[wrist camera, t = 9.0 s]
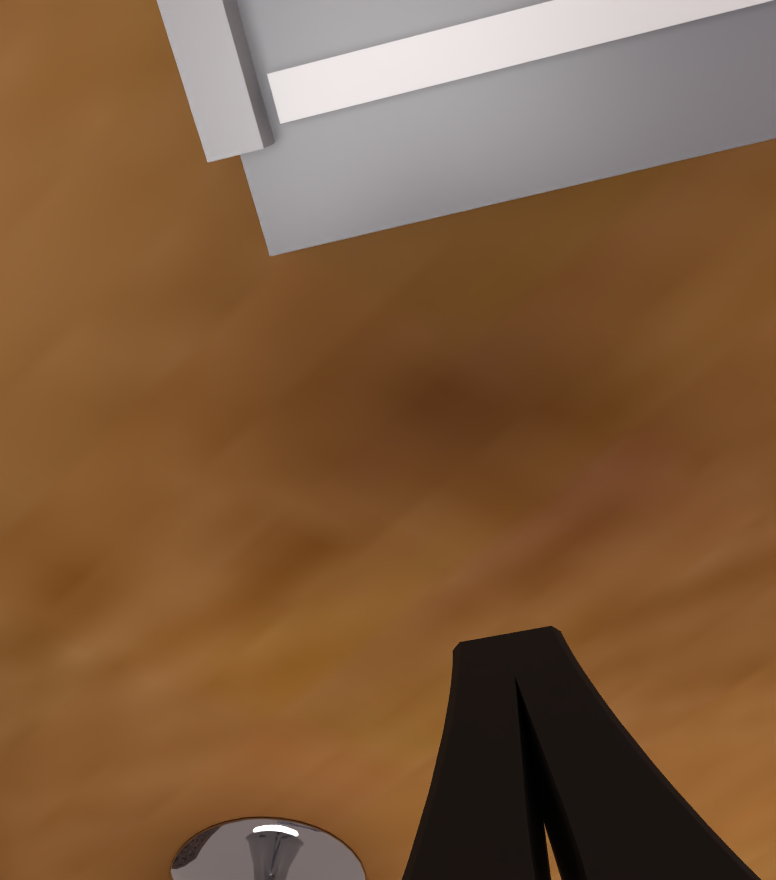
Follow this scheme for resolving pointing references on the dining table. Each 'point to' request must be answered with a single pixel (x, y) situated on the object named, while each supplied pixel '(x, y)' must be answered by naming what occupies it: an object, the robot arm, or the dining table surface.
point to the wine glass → (265, 853)
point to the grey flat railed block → (461, 99)
